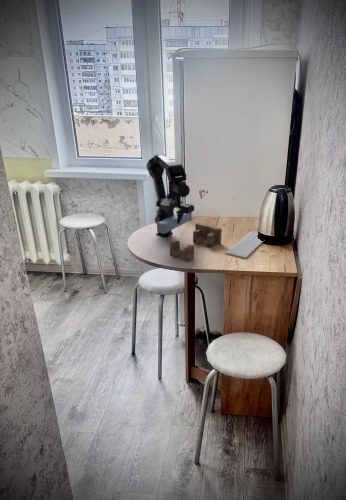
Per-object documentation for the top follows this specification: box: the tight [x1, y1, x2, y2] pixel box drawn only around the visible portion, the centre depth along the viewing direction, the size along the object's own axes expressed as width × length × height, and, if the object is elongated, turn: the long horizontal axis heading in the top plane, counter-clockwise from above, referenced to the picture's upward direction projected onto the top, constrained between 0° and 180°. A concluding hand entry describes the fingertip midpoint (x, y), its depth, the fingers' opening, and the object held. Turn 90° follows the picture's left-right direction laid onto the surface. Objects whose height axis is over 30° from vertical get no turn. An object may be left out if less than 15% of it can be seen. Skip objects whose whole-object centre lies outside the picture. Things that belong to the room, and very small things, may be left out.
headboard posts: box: [169, 222, 223, 262], centre depth 184 cm, size 14×26×8 cm, turn 143°
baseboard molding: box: [224, 229, 264, 260], centre depth 190 cm, size 31×3×12 cm
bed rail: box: [156, 211, 193, 234], centre depth 186 cm, size 4×22×4 cm, turn 143°
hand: (174, 222), depth 186 cm, fingers closed on bed rail, 4 cm apart
